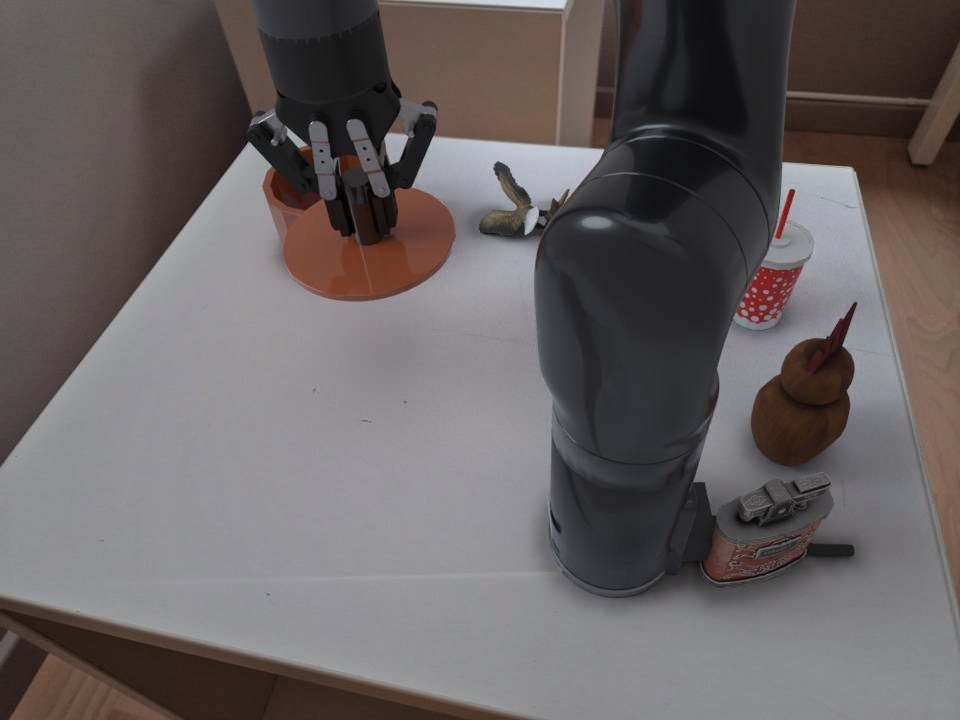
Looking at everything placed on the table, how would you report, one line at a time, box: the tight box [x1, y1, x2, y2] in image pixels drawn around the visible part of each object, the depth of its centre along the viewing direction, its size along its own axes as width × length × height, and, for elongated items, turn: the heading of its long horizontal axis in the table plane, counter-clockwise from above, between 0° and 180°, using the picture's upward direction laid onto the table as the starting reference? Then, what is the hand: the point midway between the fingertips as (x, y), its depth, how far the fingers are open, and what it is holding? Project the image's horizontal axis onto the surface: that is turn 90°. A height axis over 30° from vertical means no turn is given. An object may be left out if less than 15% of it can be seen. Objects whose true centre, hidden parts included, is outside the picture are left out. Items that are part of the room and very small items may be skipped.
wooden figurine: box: [749, 301, 858, 466], centre depth 55 cm, size 7×6×15 cm
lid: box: [282, 168, 457, 303], centre depth 57 cm, size 14×14×7 cm
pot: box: [261, 144, 362, 248], centre depth 78 cm, size 13×13×8 cm
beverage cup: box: [733, 188, 816, 331], centre depth 66 cm, size 6×6×14 cm
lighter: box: [697, 471, 835, 590], centre depth 51 cm, size 8×3×10 cm, turn 106°
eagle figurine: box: [478, 160, 571, 236], centre depth 79 cm, size 8×7×9 cm
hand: (367, 228), depth 58 cm, fingers closed on lid, 2 cm apart
